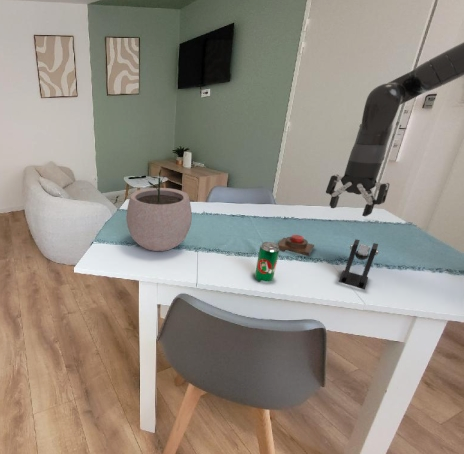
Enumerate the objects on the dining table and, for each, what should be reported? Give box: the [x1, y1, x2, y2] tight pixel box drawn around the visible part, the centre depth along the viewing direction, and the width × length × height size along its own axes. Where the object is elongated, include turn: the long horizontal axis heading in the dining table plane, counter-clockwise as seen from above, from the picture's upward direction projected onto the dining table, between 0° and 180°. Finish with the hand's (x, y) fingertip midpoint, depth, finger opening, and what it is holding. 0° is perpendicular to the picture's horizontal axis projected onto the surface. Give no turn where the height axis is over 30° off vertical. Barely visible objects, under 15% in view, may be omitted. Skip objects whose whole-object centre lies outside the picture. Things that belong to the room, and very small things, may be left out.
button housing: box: [276, 235, 315, 257], centre depth 105 cm, size 10×8×4 cm
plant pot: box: [126, 169, 193, 252], centre depth 108 cm, size 24×24×30 cm
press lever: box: [354, 243, 372, 261], centre depth 86 cm, size 14×3×3 cm, turn 136°
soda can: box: [254, 241, 280, 282], centre depth 88 cm, size 5×5×12 cm
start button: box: [290, 234, 305, 243], centre depth 104 cm, size 4×4×2 cm
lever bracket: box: [338, 239, 379, 290], centre depth 84 cm, size 8×6×13 cm
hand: (348, 211), depth 91 cm, fingers open, 8 cm apart
